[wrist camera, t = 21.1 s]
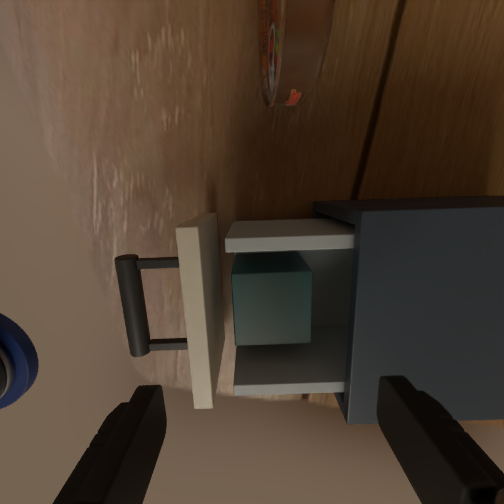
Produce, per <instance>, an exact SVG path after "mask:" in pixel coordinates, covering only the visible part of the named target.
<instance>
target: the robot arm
mask: <svg viewBox="0 0 504 504" xmlns="http://www.w3.org/2000/svg"><path fill="white" fill-rule="evenodd" d="M14 380H15V365H14V362H13V359H12V357H11V355H10V353H9V351H8V350H7V349H6V347H5V346H4V345H3V344H2V343H1V342H0V398H2V397H3V396H4V395H5V394H6V393H7V392H8V391H9V390H10V389H11V387H12V385H13V383H14ZM376 413H377V419H378V423H379V426H380V428H381V430H382V432H383V434H384V436H385V438H386V439H387V441H388V443H389V445H390V447H391V449H392V451H393V452H394V454H395V456H396V458H397V460H398V461H399V463H400V465H401V467H402V468H403V470H404V472H405V474H406V476H407V478H408V479H409V481H410V483H411V485H412V487H413V488H414V490H415V492H416V494H417V496H418V497H419V499H420V501H421V503H422V504H504V473H503V472H502V471H501V470H500V469H499V468H498V467H497V465H496V464H495V463H494V462H493V461H492V460H491V459H490V458H489V457H488V455H487V454H486V453H485V452H484V451H483V450H482V449H481V448H480V447H479V445H477V443H476V442H475V441H474V440H473V439H472V438H471V437H470V435H469V434H468V433H467V432H465V431H464V429H463V428H462V427H461V425H460V424H459V423H458V422H457V421H456V420H454V419H453V417H452V415H451V414H450V413H449V412H448V411H447V410H446V409H445V408H444V407H443V405H442V404H441V403H440V402H439V401H437V400H436V399H434V398H433V397H432V396H430V395H429V394H427V393H426V392H424V391H423V390H422V391H417V389H416V388H415V387H414V386H413V385H412V383H411V382H410V381H409V380H408V379H407V378H406V377H405V376H403V375H392V376H381V377H380V379H379V387H378V398H377V409H376ZM166 425H167V419H166V411H165V404H164V397H163V391H162V386H161V385H145V386H144V385H143V386H138V387H137V389H136V390H135V392H134V394H133V395H132V397H131V399H130V401H129V402H125V403H120V404H119V405H118V406H117V407H116V408H115V409H114V410H113V411H112V412H111V413H110V414H109V415H108V416H107V417H106V419H105V420H104V422H103V424H102V425H101V427H100V429H99V430H98V434H96V435H95V437H94V438H93V440H92V441H91V443H90V446H89V448H87V449H86V451H85V453H84V454H83V456H82V457H81V459H80V461H79V462H78V464H77V465H76V467H75V469H74V470H73V472H72V474H71V475H70V477H69V478H68V480H67V481H66V483H65V485H64V486H63V488H62V490H61V491H60V493H59V494H58V496H57V497H56V499H55V501H54V503H53V504H142V503H143V500H144V497H145V494H146V491H147V488H148V485H149V483H150V480H151V477H152V474H153V471H154V468H155V465H156V462H157V459H158V456H159V452H160V450H161V447H162V444H163V441H164V438H165V434H166Z"/></svg>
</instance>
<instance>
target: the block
mask: <svg viewBox="0 0 504 504" xmlns="http://www.w3.org/2000/svg"><path fill="white" fill-rule="evenodd" d="M312 278H313V271H312V270H311V269H310V267H309V266H308V265H307V263H306V262H305V261H304V259H303V258H302V257H301V255H300V254H299V253H298V252H274V253H247V254H236V255H235V259H234V264H233V268H232V273H231V283H232V300H233V317H234V334H235V345H236V346H244V345H271V344H298V343H311V322H312Z"/></svg>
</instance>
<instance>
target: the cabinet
mask: <svg viewBox="0 0 504 504" xmlns="http://www.w3.org/2000/svg"><path fill="white" fill-rule="evenodd" d="M318 218H336V219H339V220H342V221H345V222H348V223H351V224H354V225H355V235H354V250H353V265H352V281H351V296H350V311H349V327H348V342H347V357H346V372H345V388H344V392H334V394H335V396H336V399H337V401H338V404H339V406H340V409H341V411H342V413H343V415H344V418H345V420H346V423H347V424H348V425H349V424H377V423H378V419H377V413H376V409H377V398H378V387H379V379H380V377H381V376H392V375H403V376H405V377H406V378H407V379H408V380H409V381H410V382H411V383H412V385H413V386H414V387H415V388H416V389H417V391H422V390H423V391H424V392H426V393H427V394H429V395H430V396H432V397H433V398H434V399H436V400H437V401H439V402H440V403H441V404H442V405H443V407H444V408H445V409H446V410H447V411H448V412H449V413H450V414H451V415H452V417H453V419H454V420H456V421H468V420H498V419H504V196H458V197H429V198H399V199H369V200H339V201H314V202H313V219H318ZM378 424H379V423H378Z"/></svg>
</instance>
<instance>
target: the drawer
mask: <svg viewBox="0 0 504 504" xmlns="http://www.w3.org/2000/svg"><path fill="white" fill-rule="evenodd" d="M175 230H176V240H177V249H178V257H160V258H139V257H138V255H135V254H127V255H121V256H118V257H116V258H115V266H116V272H117V278H118V284H119V290H120V295H121V301H122V307H123V313H124V319H125V325H126V331H127V337H128V343H129V349H130V354H131V355H132V356H133V357H141V356H144V355H146V354H148V353H149V352H150V351H157V350H187V349H188V353H189V362H190V372H191V381H192V391H193V400H194V408H195V409H204V408H213V406H214V400H215V395H216V389H217V383H218V377H219V371H220V365H221V359H222V353H223V347H224V341H225V329H224V314H223V298H222V283H221V268H220V252H219V237H218V222H217V213H203V214H201V215H199V216H197V217H195V218H193V219H191V220H189V221H187V222H185V223H183V224H181V225H179V226H177V227H176V228H175ZM354 235H355V225H354V224H351V223H348V222H345V221H342V220H339V219H336V218H318V219H288V220H259V221H234V222H233V224H232V225H231V227H230V229H229V231H228V233H227V235H226V237H225V251H226V252H227V253H228V252H234V258H235V255H236V254H247V253H274V252H298V253H299V254H300V255H301V257H302V258H303V259H304V261H305V262H306V263H307V265H308V266H309V267H310V269H311V270H312V271H313V278H312V322H311V343H298V344H271V345H244V346H237V348H236V360H235V372H234V384H233V387H234V396H242V395H271V394H301V393H330V392H344V388H345V372H346V357H347V342H348V327H349V311H350V296H351V281H352V265H353V250H354ZM157 268H180V278H181V287H182V296H183V306H184V315H185V325H186V334H187V338H170V339H151V340H150V333H149V326H148V320H147V313H146V306H145V299H144V292H143V285H142V278H141V271H140V269H157Z"/></svg>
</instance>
